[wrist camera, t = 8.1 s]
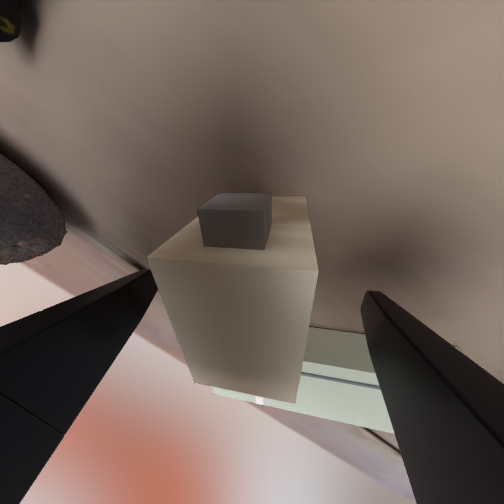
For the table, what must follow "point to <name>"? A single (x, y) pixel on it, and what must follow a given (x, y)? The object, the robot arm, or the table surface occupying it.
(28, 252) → the perforated stone tool
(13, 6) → the tape measure
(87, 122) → the table surface
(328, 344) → the painted board
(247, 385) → the stacked beige grey blocks
